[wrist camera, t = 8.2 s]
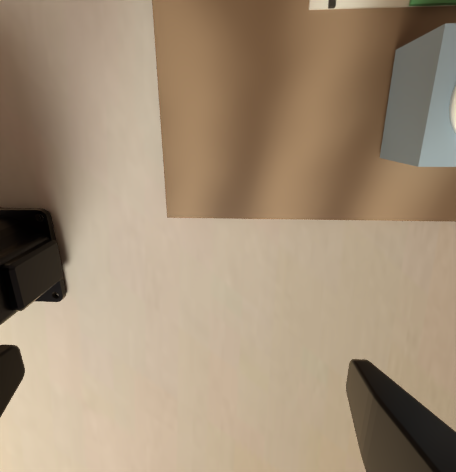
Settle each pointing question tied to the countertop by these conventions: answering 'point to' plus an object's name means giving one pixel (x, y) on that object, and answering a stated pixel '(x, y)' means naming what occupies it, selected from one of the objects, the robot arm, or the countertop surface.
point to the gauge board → (290, 109)
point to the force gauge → (423, 102)
